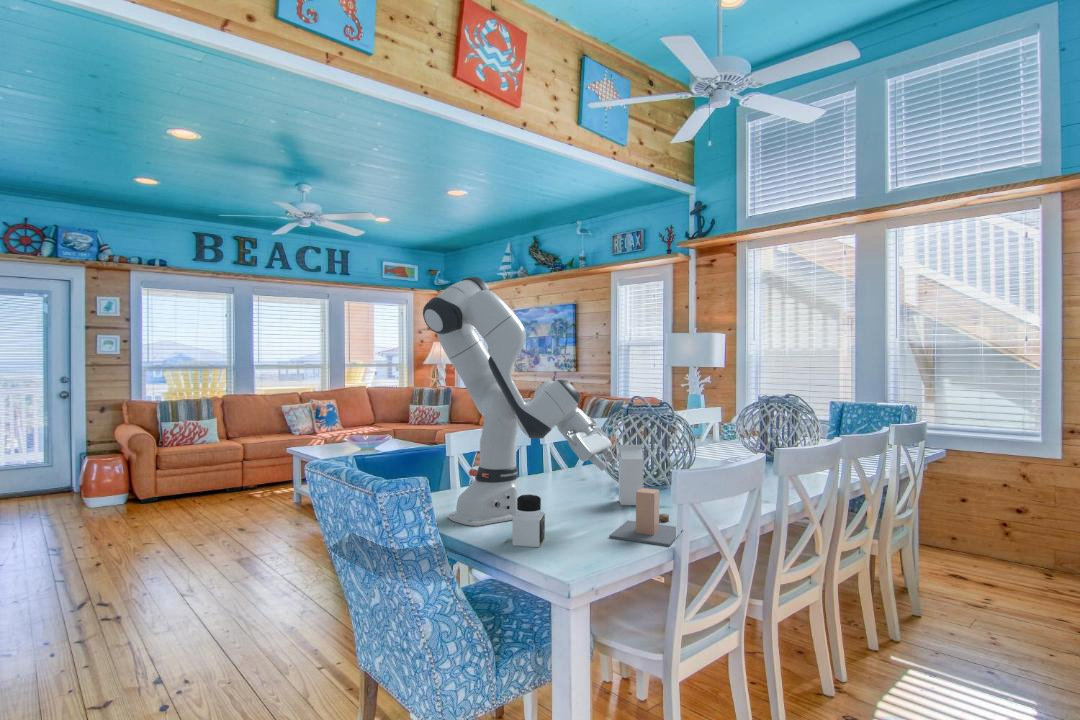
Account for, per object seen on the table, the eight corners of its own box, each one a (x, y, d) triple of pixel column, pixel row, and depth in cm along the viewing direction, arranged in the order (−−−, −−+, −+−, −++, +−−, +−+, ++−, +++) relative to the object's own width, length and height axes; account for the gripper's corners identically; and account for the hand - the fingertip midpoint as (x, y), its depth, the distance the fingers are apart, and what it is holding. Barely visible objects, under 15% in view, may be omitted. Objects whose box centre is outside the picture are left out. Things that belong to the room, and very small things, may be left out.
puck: (665, 522, 170) (665, 517, 170) (656, 520, 172) (656, 515, 172) (670, 520, 172) (670, 515, 172) (662, 518, 174) (662, 513, 174)
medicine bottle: (540, 547, 147) (540, 499, 147) (512, 546, 149) (512, 498, 149) (544, 539, 154) (545, 493, 154) (518, 537, 156) (518, 492, 156)
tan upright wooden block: (635, 532, 158) (636, 491, 158) (641, 527, 163) (641, 487, 163) (654, 535, 156) (654, 493, 156) (659, 530, 161) (659, 489, 160)
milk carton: (643, 505, 189) (643, 446, 189) (621, 505, 189) (621, 446, 189) (640, 500, 196) (640, 443, 196) (618, 500, 196) (618, 443, 196)
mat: (609, 537, 156) (609, 535, 156) (627, 522, 170) (627, 520, 170) (669, 546, 149) (669, 544, 149) (683, 529, 163) (683, 527, 163)
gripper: (572, 425, 159) (606, 464, 155) (596, 418, 177) (627, 453, 173) (556, 440, 160) (590, 480, 156) (582, 432, 179) (612, 467, 175)
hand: (610, 466), depth 165 cm, fingers open, 8 cm apart
